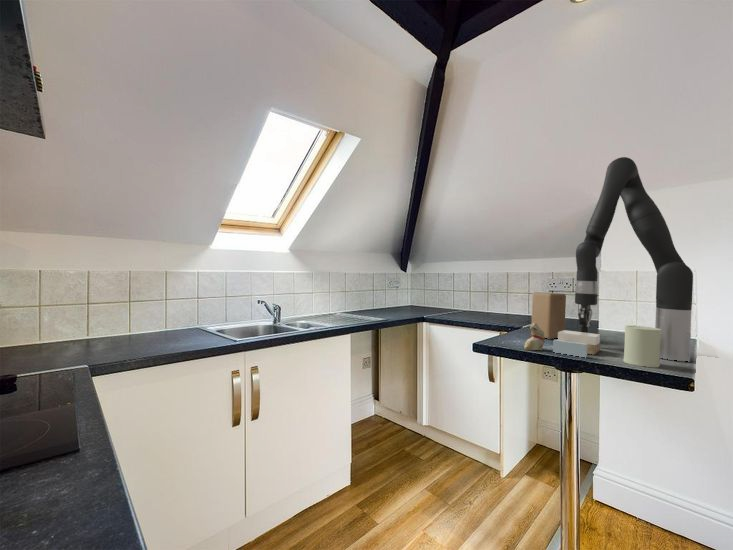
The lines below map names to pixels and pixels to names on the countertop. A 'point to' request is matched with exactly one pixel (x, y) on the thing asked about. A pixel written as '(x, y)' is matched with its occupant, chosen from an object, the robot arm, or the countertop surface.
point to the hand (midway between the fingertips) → (584, 336)
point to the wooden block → (549, 313)
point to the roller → (591, 349)
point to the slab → (579, 337)
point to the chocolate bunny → (535, 339)
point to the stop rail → (570, 348)
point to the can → (642, 346)
